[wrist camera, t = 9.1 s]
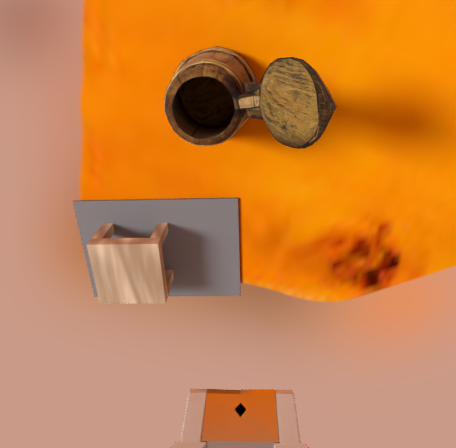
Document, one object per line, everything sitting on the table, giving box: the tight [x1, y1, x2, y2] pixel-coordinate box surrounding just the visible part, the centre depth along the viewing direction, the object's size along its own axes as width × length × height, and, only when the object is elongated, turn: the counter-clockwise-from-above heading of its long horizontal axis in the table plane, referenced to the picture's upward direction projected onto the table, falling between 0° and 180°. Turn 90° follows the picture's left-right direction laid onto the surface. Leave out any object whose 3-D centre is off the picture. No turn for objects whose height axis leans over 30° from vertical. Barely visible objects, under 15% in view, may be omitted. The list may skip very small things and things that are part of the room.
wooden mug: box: [164, 46, 337, 149], centre depth 31 cm, size 9×14×18 cm, turn 98°
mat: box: [73, 198, 241, 296], centre depth 48 cm, size 20×14×1 cm
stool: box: [87, 223, 174, 304], centre depth 46 cm, size 6×8×8 cm
